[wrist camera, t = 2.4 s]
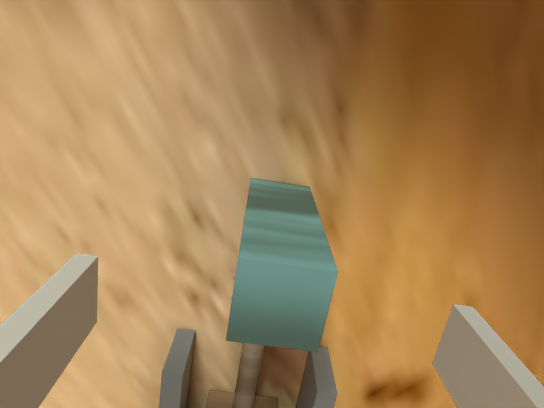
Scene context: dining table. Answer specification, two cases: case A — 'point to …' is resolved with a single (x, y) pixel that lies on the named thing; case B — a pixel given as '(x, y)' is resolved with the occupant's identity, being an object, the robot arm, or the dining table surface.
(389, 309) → the dining table surface
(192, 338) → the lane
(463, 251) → the dining table surface
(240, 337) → the tethered block
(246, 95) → the dining table surface
